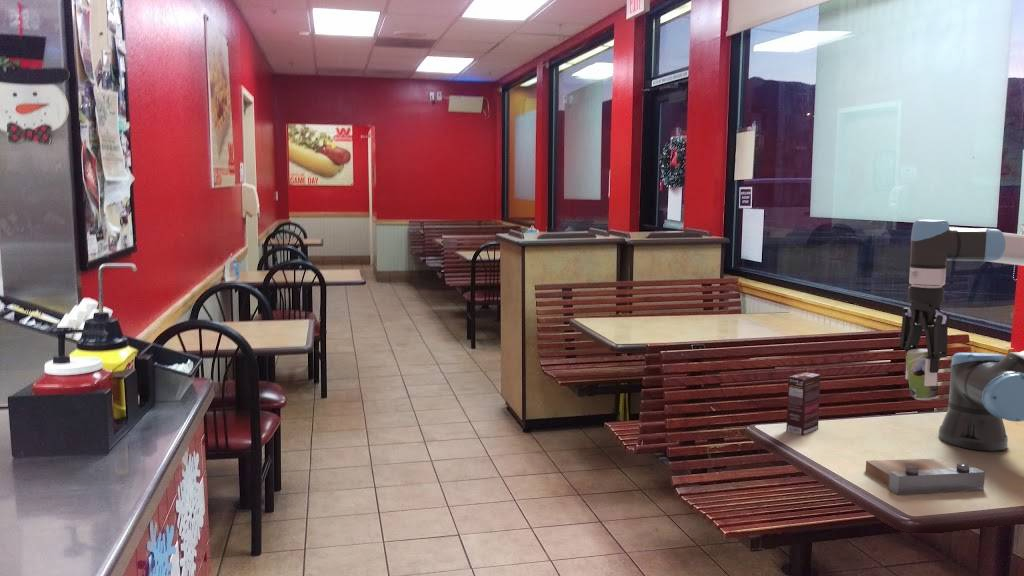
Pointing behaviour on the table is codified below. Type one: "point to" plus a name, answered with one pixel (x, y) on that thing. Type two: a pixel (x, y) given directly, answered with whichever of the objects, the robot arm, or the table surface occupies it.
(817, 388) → the supplement box
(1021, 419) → the robot arm
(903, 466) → the brown wooden board
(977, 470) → the stop bar
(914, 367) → the beverage can
